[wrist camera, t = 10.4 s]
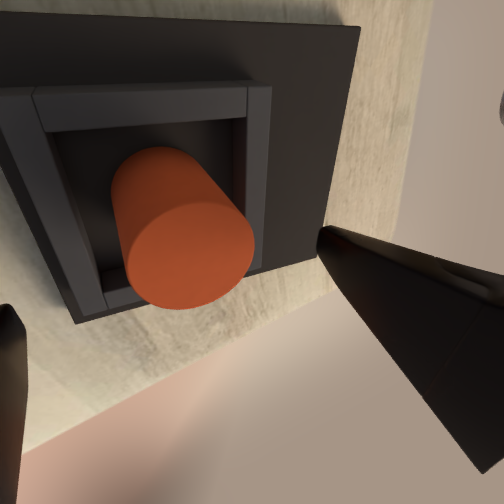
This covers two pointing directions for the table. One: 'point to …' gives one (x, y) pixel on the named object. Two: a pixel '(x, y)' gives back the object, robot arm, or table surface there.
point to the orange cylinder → (178, 230)
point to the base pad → (167, 130)
